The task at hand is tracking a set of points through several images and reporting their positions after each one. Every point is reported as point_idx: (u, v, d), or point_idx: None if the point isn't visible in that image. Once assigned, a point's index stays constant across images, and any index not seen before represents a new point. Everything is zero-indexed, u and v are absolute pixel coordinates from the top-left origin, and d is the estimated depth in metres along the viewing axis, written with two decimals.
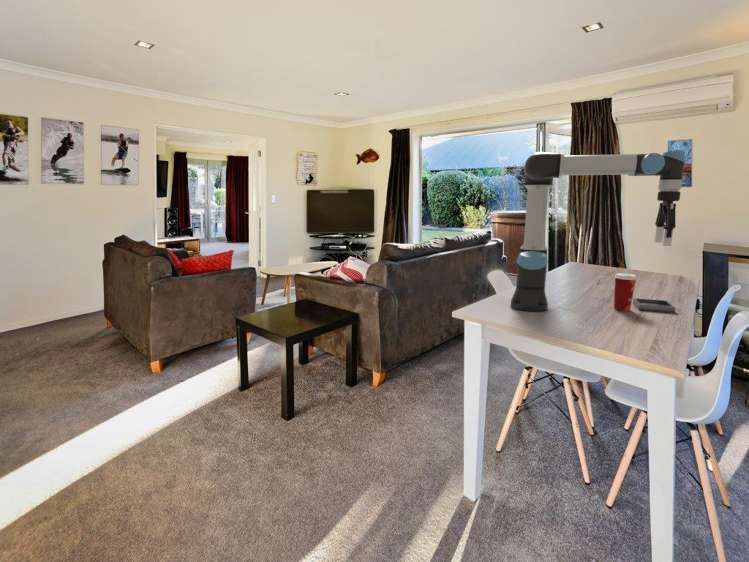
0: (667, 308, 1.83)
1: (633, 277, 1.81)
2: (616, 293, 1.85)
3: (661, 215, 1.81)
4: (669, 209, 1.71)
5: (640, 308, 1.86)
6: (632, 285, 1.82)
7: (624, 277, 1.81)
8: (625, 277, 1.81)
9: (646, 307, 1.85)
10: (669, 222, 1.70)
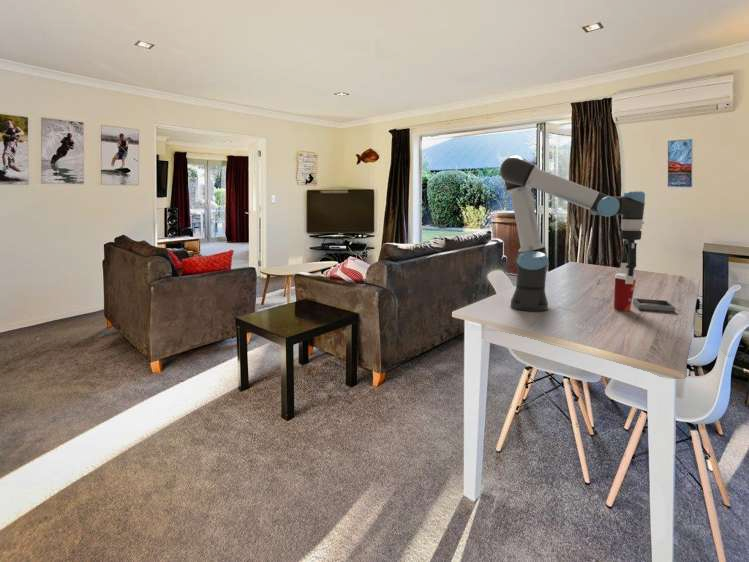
0: (667, 308, 1.83)
1: None
2: (616, 293, 1.85)
3: (625, 252, 1.86)
4: (630, 248, 1.76)
5: (640, 308, 1.86)
6: (632, 285, 1.82)
7: (624, 277, 1.81)
8: (625, 277, 1.81)
9: (646, 307, 1.85)
10: (630, 261, 1.75)
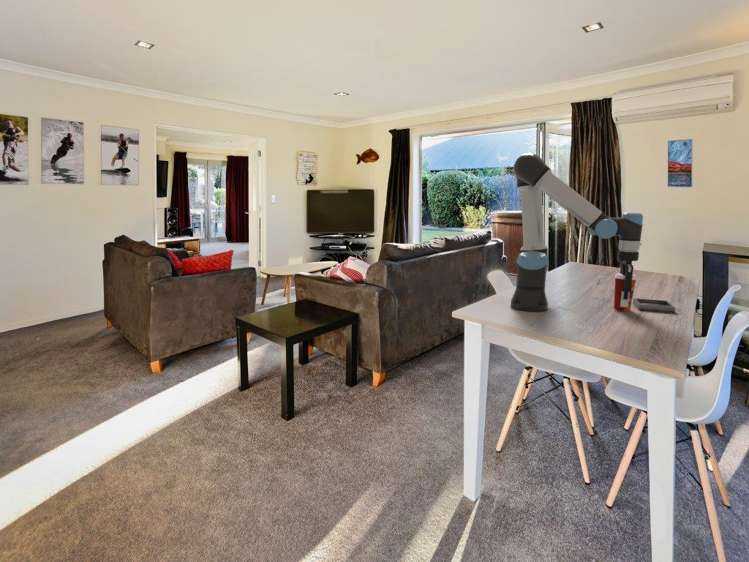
0: (667, 308, 1.83)
1: (633, 277, 1.81)
2: (616, 293, 1.85)
3: None
4: (627, 273, 1.78)
5: (640, 308, 1.86)
6: (632, 285, 1.82)
7: (624, 277, 1.82)
8: None
9: (646, 307, 1.85)
10: (625, 286, 1.79)
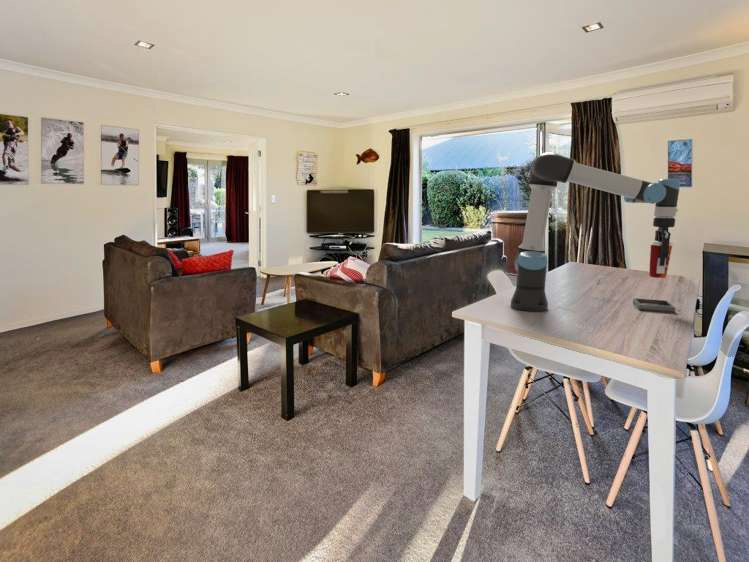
0: (667, 308, 1.83)
1: (670, 243, 1.81)
2: (652, 260, 1.86)
3: None
4: (664, 238, 1.79)
5: (640, 308, 1.86)
6: (669, 251, 1.82)
7: (661, 243, 1.82)
8: None
9: (646, 307, 1.85)
10: (662, 252, 1.79)
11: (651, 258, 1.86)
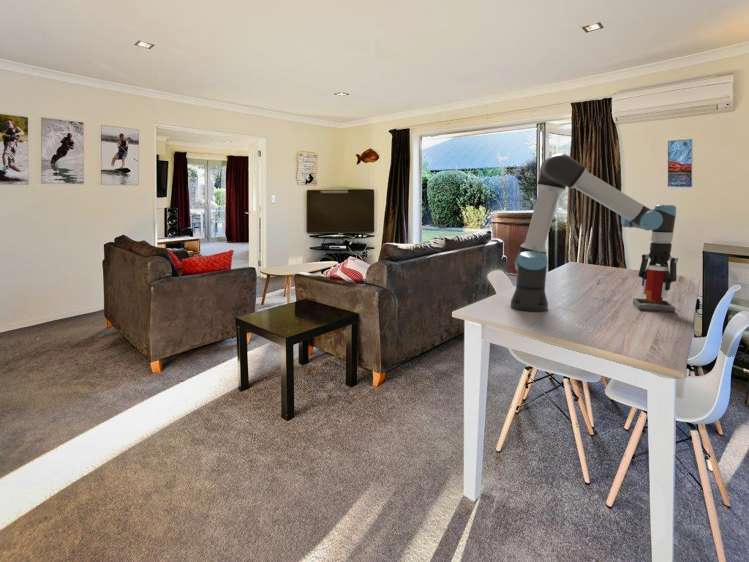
0: (667, 308, 1.83)
1: (668, 267, 1.85)
2: (655, 285, 1.85)
3: None
4: (673, 264, 1.80)
5: (640, 308, 1.86)
6: None
7: (665, 268, 1.83)
8: None
9: (646, 307, 1.85)
10: (673, 277, 1.81)
11: (654, 283, 1.86)
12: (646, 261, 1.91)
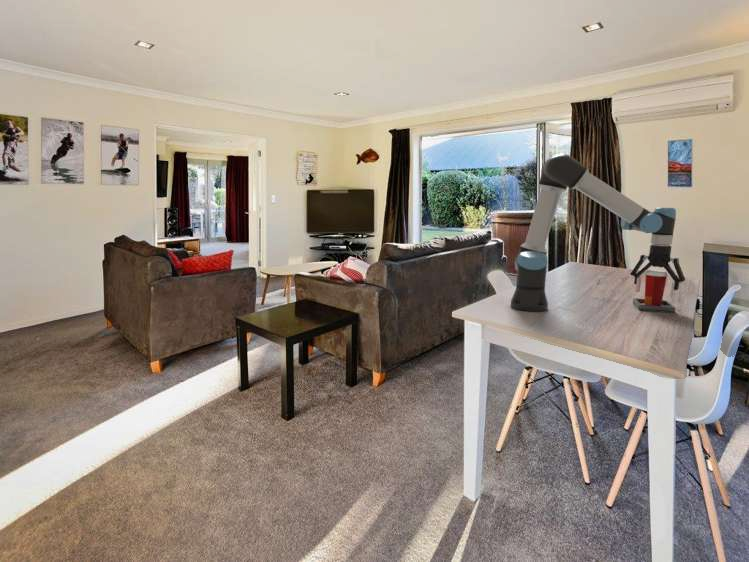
0: (667, 308, 1.83)
1: None
2: (656, 291, 1.86)
3: (648, 267, 1.89)
4: (677, 264, 1.81)
5: (640, 308, 1.86)
6: None
7: (665, 274, 1.84)
8: (665, 274, 1.84)
9: (646, 307, 1.85)
10: (682, 276, 1.80)
11: (654, 289, 1.86)
12: (642, 262, 1.91)
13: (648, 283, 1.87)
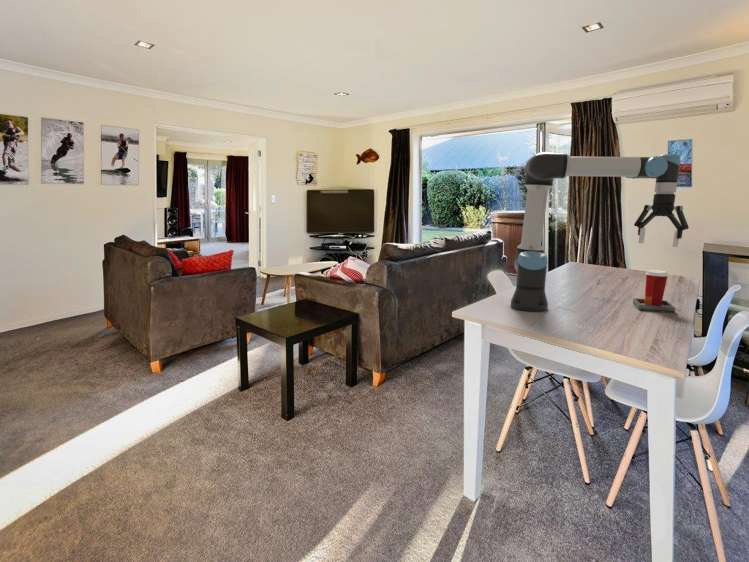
0: (667, 308, 1.83)
1: None
2: (656, 291, 1.86)
3: (651, 217, 1.86)
4: (680, 211, 1.77)
5: (640, 308, 1.86)
6: None
7: (665, 274, 1.84)
8: (666, 274, 1.84)
9: (646, 307, 1.85)
10: (685, 224, 1.76)
11: (655, 289, 1.86)
12: (646, 212, 1.89)
13: (648, 283, 1.87)
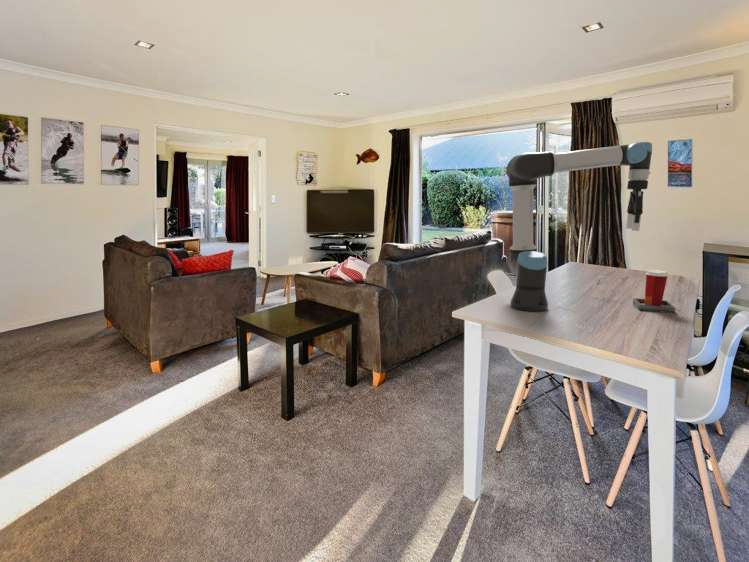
0: (667, 308, 1.83)
1: None
2: (656, 291, 1.86)
3: (631, 203, 1.95)
4: (637, 196, 1.85)
5: (640, 308, 1.86)
6: None
7: (665, 274, 1.84)
8: (666, 274, 1.84)
9: (646, 307, 1.85)
10: (637, 208, 1.83)
11: (654, 289, 1.86)
12: None
13: (648, 283, 1.87)
